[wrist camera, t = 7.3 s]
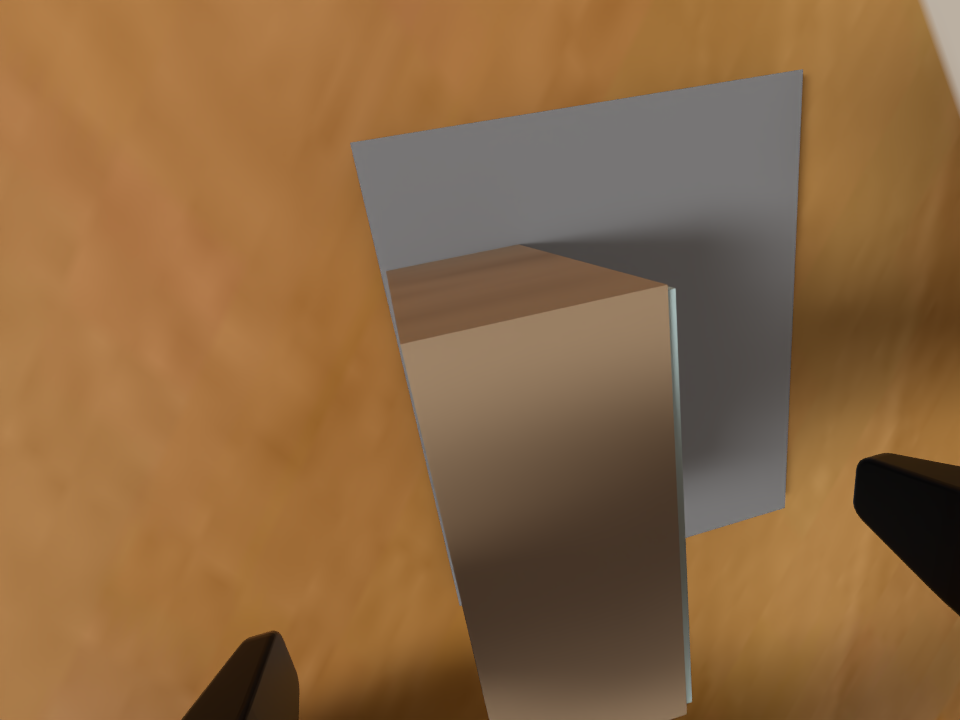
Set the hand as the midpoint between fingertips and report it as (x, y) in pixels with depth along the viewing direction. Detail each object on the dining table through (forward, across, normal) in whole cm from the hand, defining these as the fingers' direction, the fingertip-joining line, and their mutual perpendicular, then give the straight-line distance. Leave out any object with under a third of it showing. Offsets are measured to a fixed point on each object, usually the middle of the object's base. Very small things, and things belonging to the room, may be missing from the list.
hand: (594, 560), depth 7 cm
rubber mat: (+8, -4, 0) cm, 9 cm away
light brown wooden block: (+7, 0, 0) cm, 7 cm away
